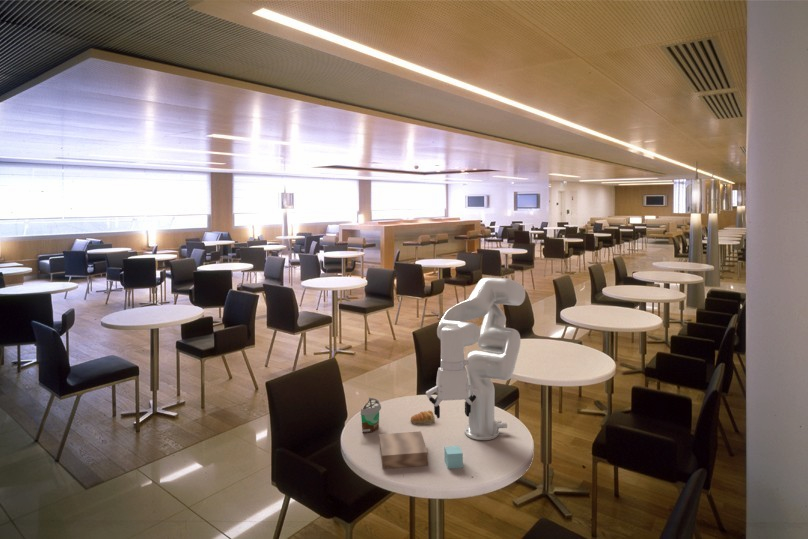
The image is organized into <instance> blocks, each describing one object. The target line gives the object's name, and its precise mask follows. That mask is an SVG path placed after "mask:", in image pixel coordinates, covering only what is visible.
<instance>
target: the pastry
mask: <svg viewBox="0 0 808 539" xmlns="http://www.w3.org/2000/svg"><path fill="white" fill-rule="evenodd" d="M435 421H436V418H435V414H434V411H432V410H428V411H427V410H425V411H419V412H418V413H416V414H414V415H412V416H411V417H410V423H413V424H414V425H427V424H428V425H429V424H433V423H435Z"/></svg>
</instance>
